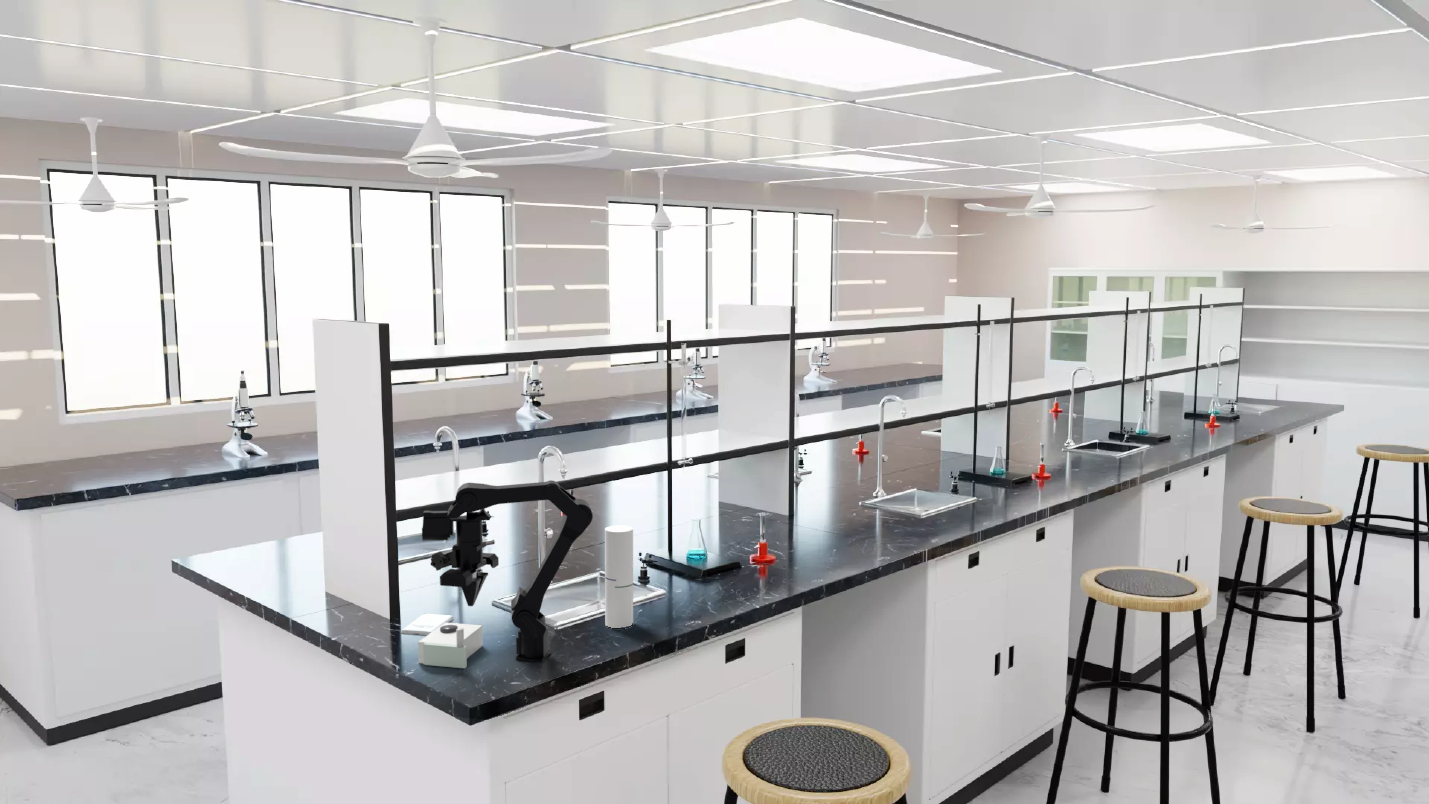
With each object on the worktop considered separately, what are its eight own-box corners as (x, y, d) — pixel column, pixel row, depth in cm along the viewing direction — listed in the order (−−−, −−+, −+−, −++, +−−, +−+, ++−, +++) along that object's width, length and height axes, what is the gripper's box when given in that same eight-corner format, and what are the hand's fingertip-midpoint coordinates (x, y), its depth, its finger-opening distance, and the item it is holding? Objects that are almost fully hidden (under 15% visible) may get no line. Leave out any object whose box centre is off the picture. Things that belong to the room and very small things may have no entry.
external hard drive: (453, 621, 260) (431, 637, 248) (423, 619, 262) (400, 635, 250) (453, 615, 260) (431, 631, 248) (423, 613, 262) (400, 629, 249)
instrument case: (482, 645, 241) (482, 623, 241) (457, 666, 228) (456, 642, 227) (445, 642, 243) (445, 620, 242) (418, 663, 230) (418, 639, 229)
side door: (467, 666, 227) (466, 628, 226) (464, 668, 226) (463, 630, 225) (426, 662, 229) (425, 625, 228) (423, 665, 228) (422, 627, 227)
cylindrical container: (613, 618, 262) (612, 524, 259) (637, 621, 259) (637, 526, 256) (600, 626, 255) (599, 530, 252) (625, 630, 253) (625, 533, 250)
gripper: (455, 527, 239) (456, 591, 241) (416, 547, 221) (418, 616, 223) (499, 530, 237) (500, 594, 239) (464, 550, 219) (465, 619, 221)
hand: (470, 605), depth 230 cm, fingers closed
